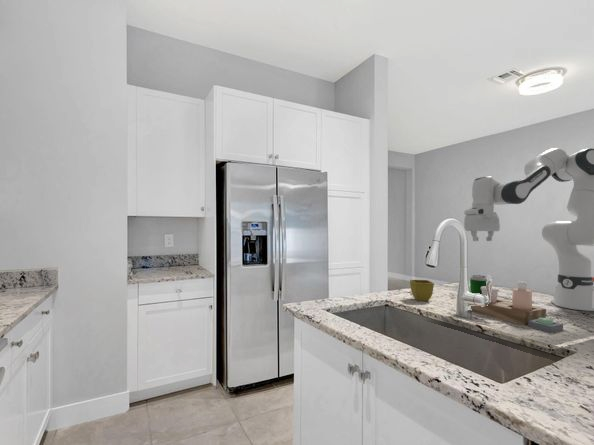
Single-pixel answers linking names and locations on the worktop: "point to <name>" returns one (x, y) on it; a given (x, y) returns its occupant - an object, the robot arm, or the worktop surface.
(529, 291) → the bottle
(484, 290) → the smoothie
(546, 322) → the button
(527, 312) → the pallet
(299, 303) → the worktop surface
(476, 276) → the soda can
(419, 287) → the flower pot
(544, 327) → the button housing
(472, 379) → the worktop surface
